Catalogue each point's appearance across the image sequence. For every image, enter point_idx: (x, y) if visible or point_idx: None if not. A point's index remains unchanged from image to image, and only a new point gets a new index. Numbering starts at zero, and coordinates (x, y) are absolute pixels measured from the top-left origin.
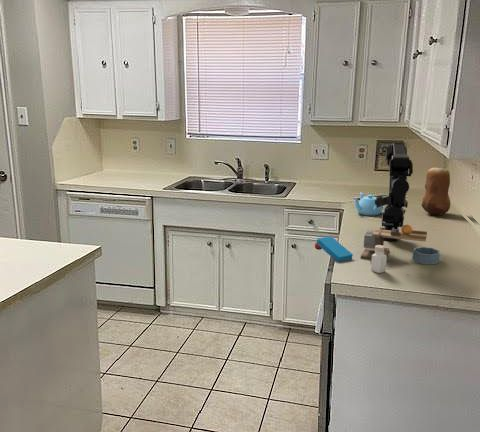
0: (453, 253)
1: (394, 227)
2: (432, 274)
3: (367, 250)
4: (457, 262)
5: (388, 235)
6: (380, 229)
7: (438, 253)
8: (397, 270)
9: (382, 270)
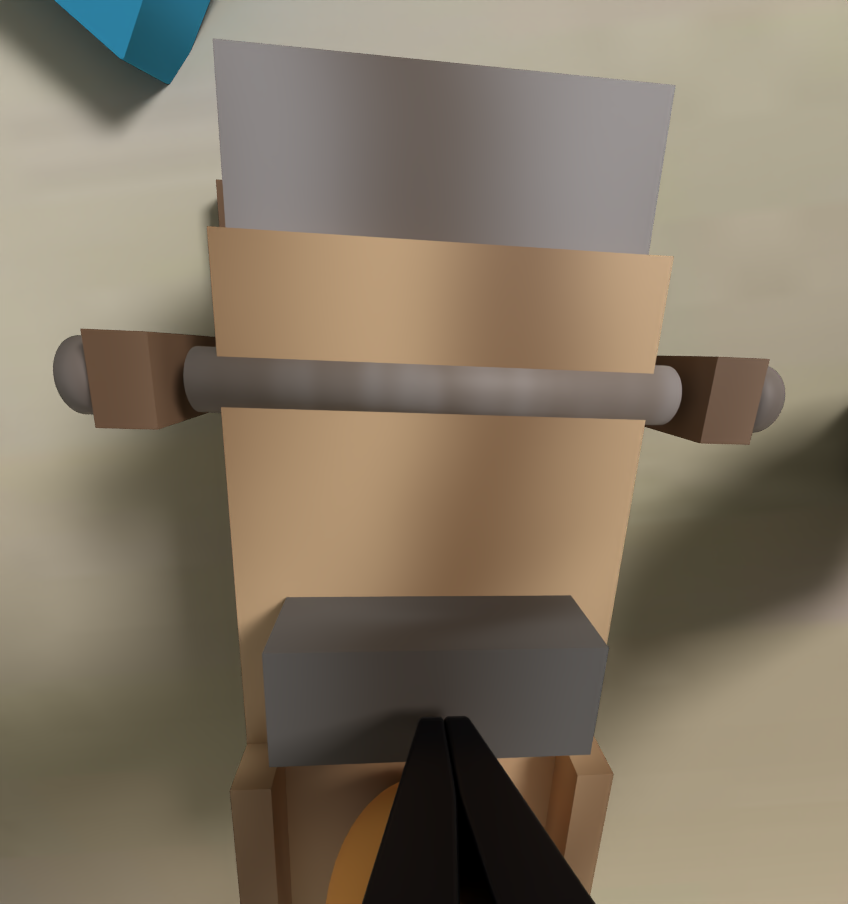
0: (615, 843)
1: (409, 754)
2: (100, 778)
3: None
4: None
5: (258, 564)
6: (694, 364)
7: None
8: (48, 563)
9: None
